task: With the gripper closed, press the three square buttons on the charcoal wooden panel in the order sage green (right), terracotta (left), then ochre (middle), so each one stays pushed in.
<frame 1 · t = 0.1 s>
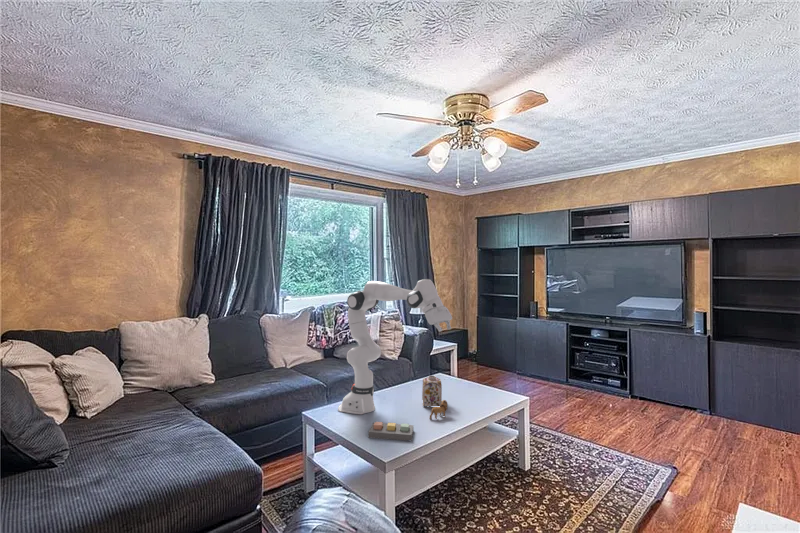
hand: (445, 330, 207), 54 cm above the table, tool tilted 30°, fingers open, 8 cm apart
ochre button: (391, 427, 204), point 3 cm above the table, slide at 0.0 cm
lion figurine: (438, 417, 228), on the table
decorative jar: (431, 404, 249), on the table
button panel: (391, 434, 204), on the table
terracotta button: (378, 427, 205), point 3 cm above the table, slide at 0.0 cm
sage button: (404, 428, 203), point 3 cm above the table, slide at 0.0 cm
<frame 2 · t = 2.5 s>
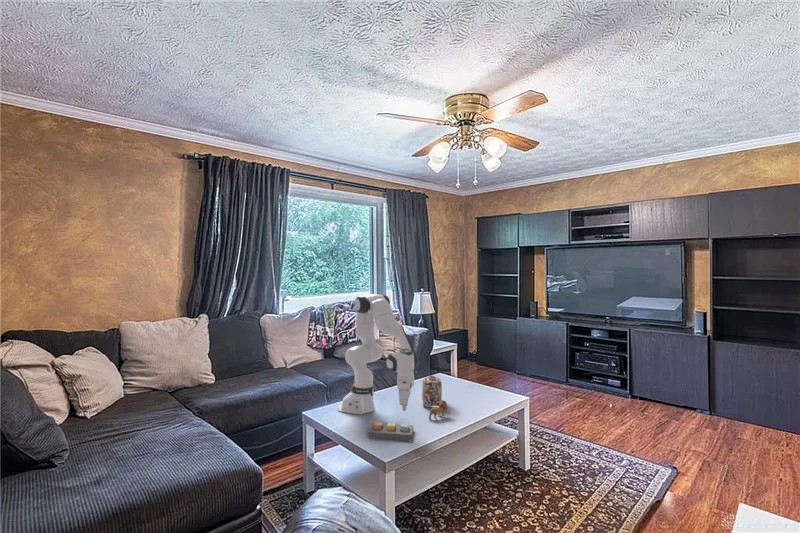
hand: (405, 408, 203), 14 cm above the table, tool pointing down, fingers open, 5 cm apart
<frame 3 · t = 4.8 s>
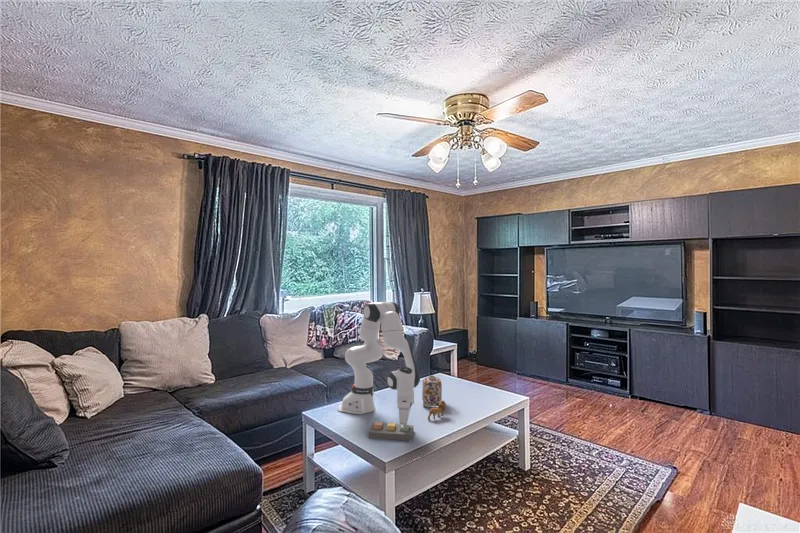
hand: (405, 426, 203), 5 cm above the table, tool pointing down, fingers closed, pressing on sage button
sage button: (404, 430, 203), point 3 cm above the table, slide at 0.6 cm, touching gripper
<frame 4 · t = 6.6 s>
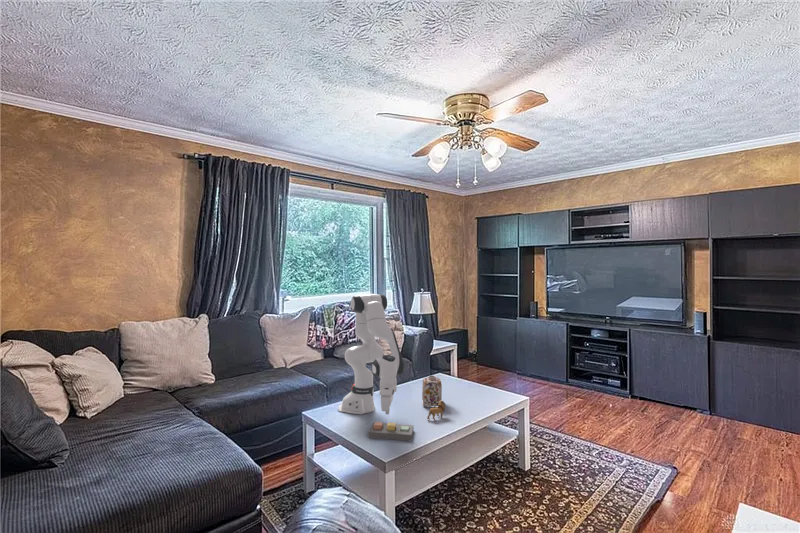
hand: (387, 413, 205), 10 cm above the table, tool pointing down, fingers closed
sage button: (404, 431, 203), point 2 cm above the table, slide at 1.3 cm
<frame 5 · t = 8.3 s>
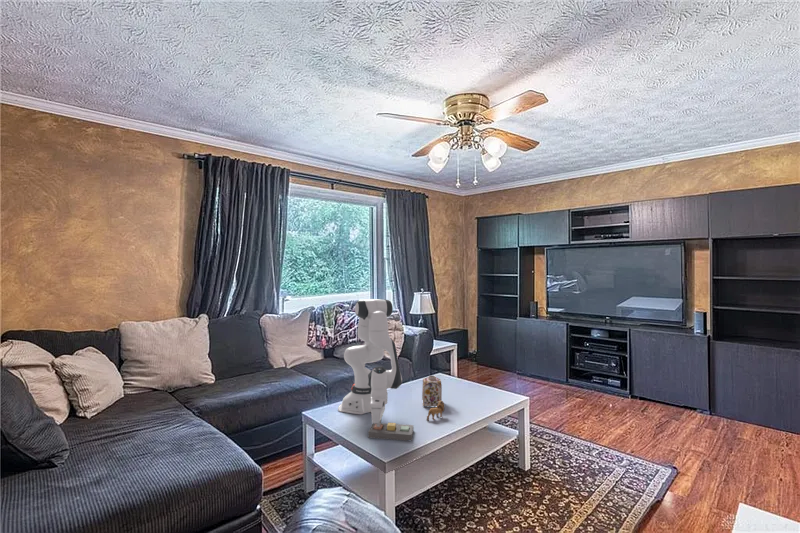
hand: (378, 425, 205), 4 cm above the table, tool pointing down, fingers closed, pressing on terracotta button
terracotta button: (378, 429, 205), point 2 cm above the table, slide at 1.2 cm, touching gripper
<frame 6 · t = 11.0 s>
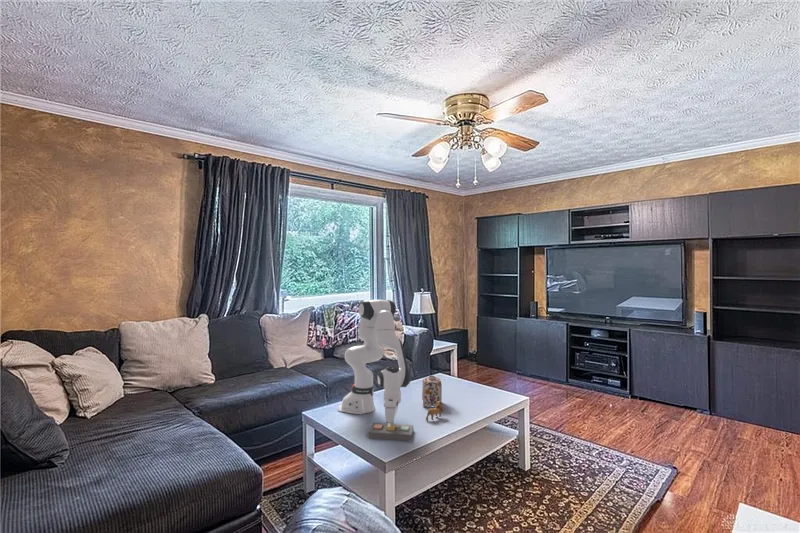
hand: (392, 425, 204), 5 cm above the table, tool pointing down, fingers closed, pressing on ochre button
ochre button: (391, 428, 204), point 3 cm above the table, slide at 0.5 cm, touching gripper
terracotta button: (378, 429, 205), point 2 cm above the table, slide at 1.3 cm
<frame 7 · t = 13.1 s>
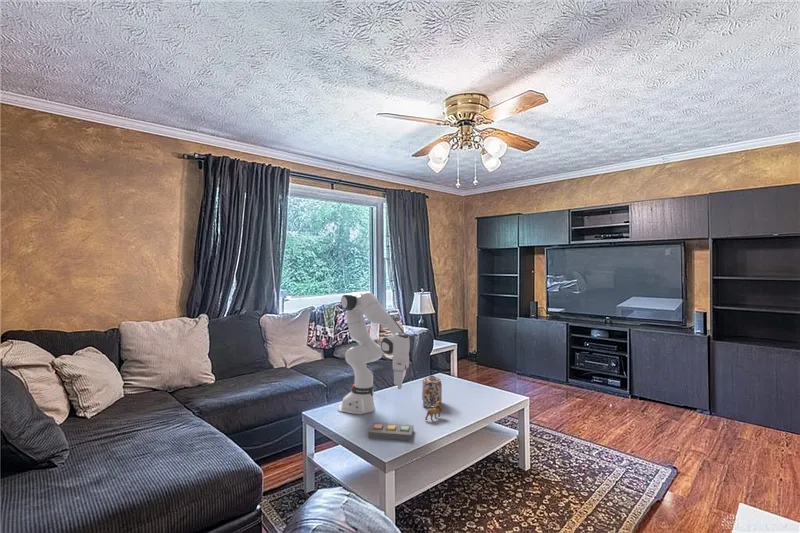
hand: (399, 388, 212), 21 cm above the table, tool pointing down, fingers closed
ochre button: (391, 430, 204), point 2 cm above the table, slide at 1.3 cm
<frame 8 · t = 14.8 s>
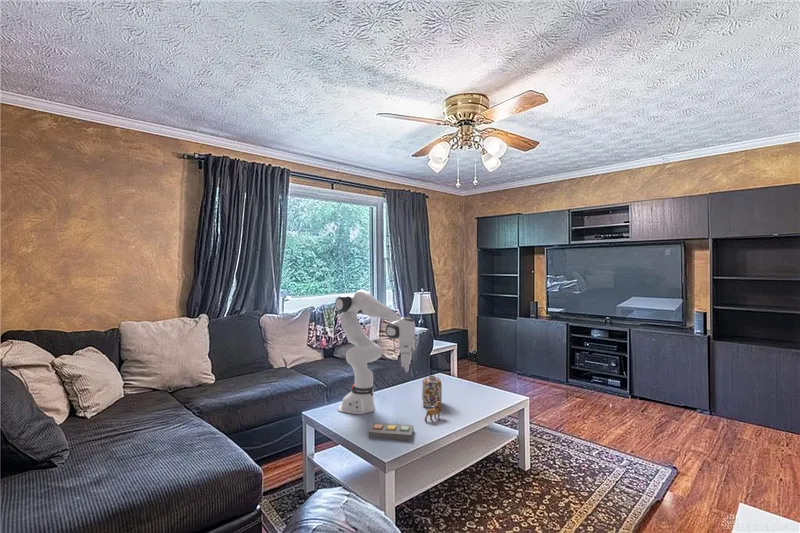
hand: (406, 371, 218), 29 cm above the table, tool pointing down, fingers closed
at the end: sage button slide at 1.3 cm; terracotta button slide at 1.3 cm; ochre button slide at 1.3 cm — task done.
